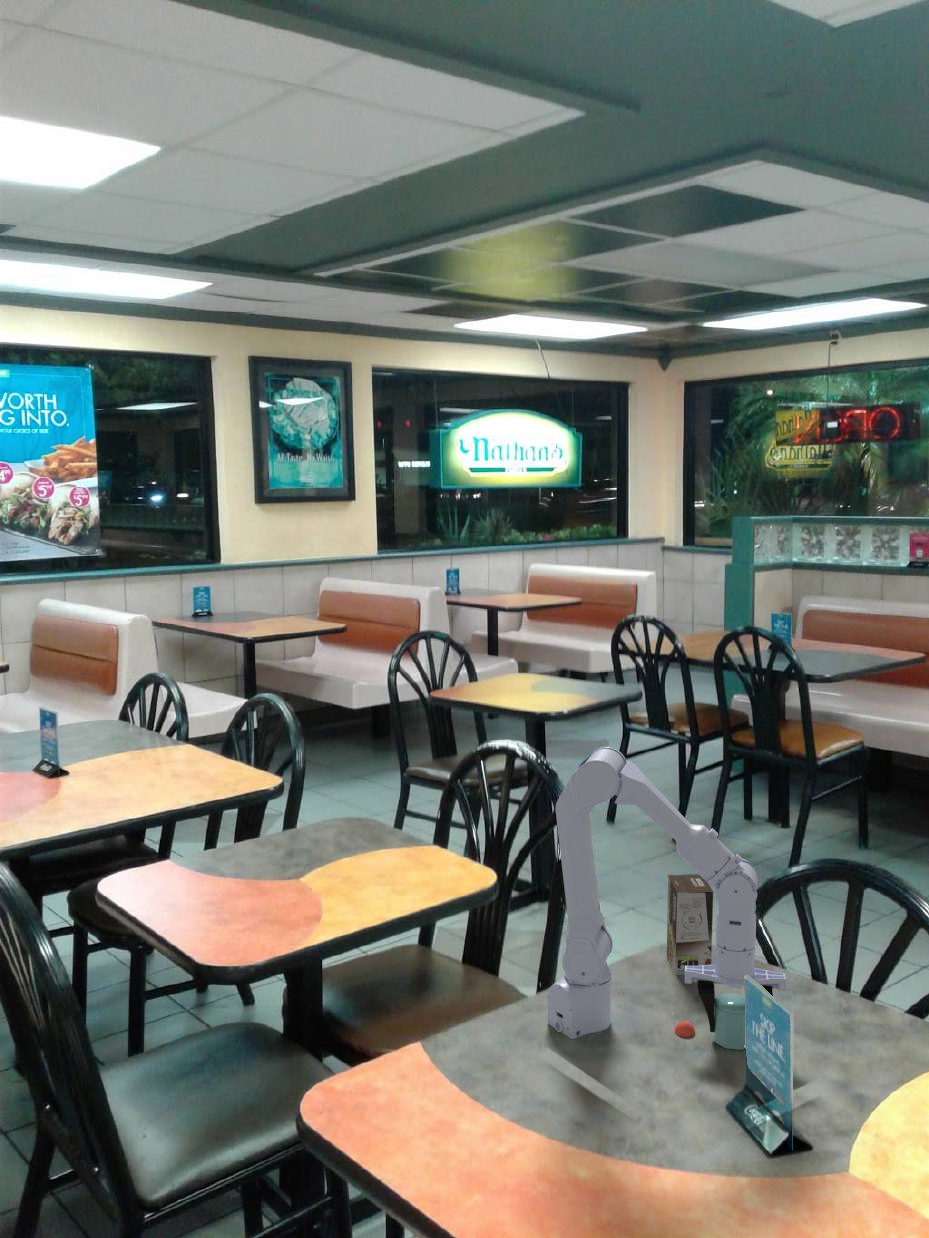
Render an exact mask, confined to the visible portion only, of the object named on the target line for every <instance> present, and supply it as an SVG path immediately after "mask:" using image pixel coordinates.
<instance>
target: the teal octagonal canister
mask: <svg viewBox="0 0 929 1238" xmlns="http://www.w3.org/2000/svg"><path fill="white" fill-rule="evenodd" d="M714 1018H715V1032H713V1038H714V1043H716V1044H717V1045H718V1046H721V1047H722V1048H724V1049H727V1050H728V1049H729V1050H736V1051H737V1050H739V1051H742V1050H745V1049H744V1045H745V996H743V995H740V994H734V993H725V994H720V995H718V996H716V997H715V1001H714Z"/></svg>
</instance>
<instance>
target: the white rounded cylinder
mask: <svg viewBox="0 0 929 1238" xmlns="http://www.w3.org/2000/svg"><path fill="white" fill-rule="evenodd" d="M714 991H715V997H716V996H718V995H720V994H725V993H734V994H740V995H743V996H744V986H743V988H730V987H729V986H728V985H726V984H714Z"/></svg>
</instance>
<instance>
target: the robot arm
mask: <svg viewBox="0 0 929 1238" xmlns="http://www.w3.org/2000/svg"><path fill="white" fill-rule="evenodd" d="M614 796H616V800H615V801H614V804H615V805H627V806H629V805H631V806H636V807H637V808H638V809H639V810H640V811H641V812H643V813H644V814H645V815H646V816H647V817H649V818H650V819H651V820H652V821H653V822H654V823H655V824H656V825H658V827H660V828H661V829H662V830H663V831H665V832H666V834H668V835H669V836H670V838H672V839H674V841H675V843H676V845H675V847H676V849H675V850H676V854H677V855H679V857H680V858H681V859H682V860H683V861H685V863H687V865H689V866H690V867H691V868H692V869H693V870H694V871H695V872H696V873H697V874H699V875H700V876H701V877H702V878H703V879H704V880H705V881H706V882H707V883H708V884H709V886H713V887H714V894H715V897H716V900H717V901H718V903H717V904H718V908H717V911H716V913H715V914H716V917H715V918H716V919H715V959H714V960H715V962H714V964H711V965H701V966H685V975H684V983H685V984H689V985H690V984H693V983H697V994H698V996H699V999H700V1000H701V1002H702V1004H703V1007H704V1010H705V1013H706V1016H707V1019H708V1023H709V1033H714V1032H715V1004H714V1001H715V991H714V984H726V985H728V986H729V987H730V988H743V986H745V982H744V976H745V975H749V976H750V977H751V978H752V979H754V980H755V981H756V982H758V983H759V984H760V985H762V986H763V987H764V988H765V989H766V990H767V991H768V992H769V993H770V994H771V995H772V996H773V997H774V993H773V989H777V990H778V991H779V992H786V989H787V978H786V974H785V972H776V971H772V970H771V971H770V970H766V969H761V968H757V967H756V938H757V936H756V934H757V933H756V932H757V915H756V914H757V913H756V910H757V904H756V901H757V898H758V892H757V889H758V879H759V878H758V875H757V874H758V873H757V872H756V870H755V868H754V867H753V865H752V863H751V862H750V861H748V860H747V859H745V858H742V857H741V855H740V854H738V853H736V854H734V853H733V852H732V851H731V850H730V849H729V848H728V847H727V846H726V845H725V844H724V843H723V842H722V841H721V840H720V839H719V838H718V837H719V833H718V831H716V830H715V829H714V828H713V827H712V828H710V829H708V828H707V827H706V826H705V825H703V824H693V823H690V821H688V820H687V818H686V817H685V816H683V815H682V813H681V812H680V811H679V810H678V809H677V808H676V806H674V805H673V804H672V803H671V802H670V801H669V799H667V797H666V796H665V795H664V794H663V793H662V792H661V791H660V790H659V789H658V788H657V787H656V786H655V785H654V784H653V782H651V780H650V779H648V777H647V776H646V775H645V774H644V773H643V772H642V771H641V770H640V768H639V767H638V766H637V765H636V764H635V763H634V762H632V761H630V760H627V759H626V757H625V755H624V754H623V753H622V752H621V751H619V750H618V749H617V748H615V747H611V746H602V747H599V748H596V749H595V750H593V751H592V752H591V753H589V755H587V756H586V757H585V758H584V759H583V760H582V761H581V762H580V764H579V765H578V766H577V767H576V769H575V771H573V772H572V774H570V777H569V779H568V782H566V785H565V787H564V788H563V790H562V792H561V794H560V795H559V797H558V799H557V801H556V803H555V815H556V816H555V817H556V825H557V833H558V834H557V835H558V843H559V851H560V859H561V861H560V862H561V869H562V877H563V878H562V880H563V885H564V887H563V888H564V895H565V904H566V913H567V924H566V931H565V932H566V934H565V951H564V954H563V957H562V958H561V959H562V962H561V963H562V970H563V975H562V977H561V978H560V979H559V980H558V981H557V982H555V983H553V984H552V985H551V986H550V987H549V989H548V993H547V1025H549V1026H551V1027H553V1028H554V1029H555V1030H556V1032H558V1033H561V1034H562V1035H565V1036H566V1037H568V1038H569V1039H570V1040H572V1039H573V1040H575V1039H578V1038H579V1037H582V1036H584V1035H588V1034H594V1033H599V1032H602V1031H605V1030H607V1029H608V1028H609V1027H610V1026H611V1023H612V1022H611V1021H612V1020H611V1019H612V1017H611V1016H612V1014H611V1013H612V1010H611V1009H612V1008H611V1007H612V972H611V971H612V970H611V969H610V967H609V966H608V962H607V960H608V958H609V956H610V954H611V952H612V950H613V947H614V946H613V944H614V943H613V942H614V941H613V937H612V936H611V934H610V932H609V931H608V929H607V927H606V924H605V919H604V918H605V917H604V915H603V913H602V911H601V910H600V902H599V901H600V900H599V893H598V884H597V876H596V875H597V874H596V865H595V857H594V855H595V854H594V850H593V849H594V846H593V839H592V829H591V823H590V822H591V821H590V820H591V819H590V813H591V812H592V811H593V810H594V809H595V807H596V806H598V805H601V804H602V803H605V802H607V801H609V800H611V799H612V798H613V797H614Z"/></svg>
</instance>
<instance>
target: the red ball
mask: <svg viewBox="0 0 929 1238" xmlns="http://www.w3.org/2000/svg"><path fill="white" fill-rule="evenodd" d="M674 1033H675V1034H676V1035H677V1036H679V1037H681V1038H682V1037H683V1038H689V1037H693V1036H694V1035H695V1034H696V1031H695V1027H694V1026H693V1024H691V1023H690V1022H689V1021H686V1020H684V1021H680V1022H678V1023H677V1024H676V1026H675V1028H674Z"/></svg>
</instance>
